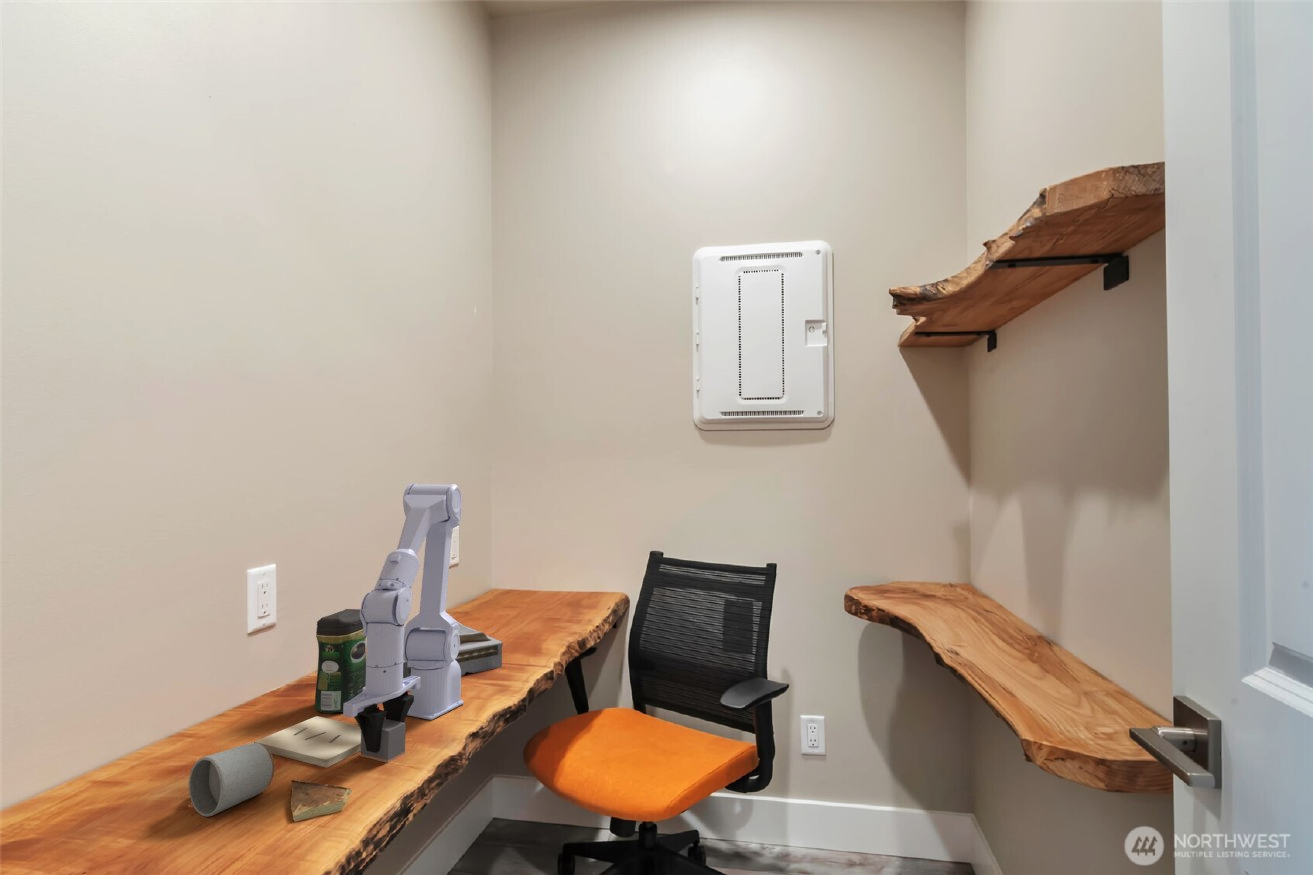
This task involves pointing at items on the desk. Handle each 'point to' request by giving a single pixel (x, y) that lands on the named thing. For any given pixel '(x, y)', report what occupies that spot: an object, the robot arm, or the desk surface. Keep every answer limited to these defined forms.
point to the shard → (316, 799)
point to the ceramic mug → (230, 777)
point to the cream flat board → (316, 741)
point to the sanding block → (388, 742)
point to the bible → (472, 651)
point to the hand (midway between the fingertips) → (383, 745)
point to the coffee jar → (340, 660)
